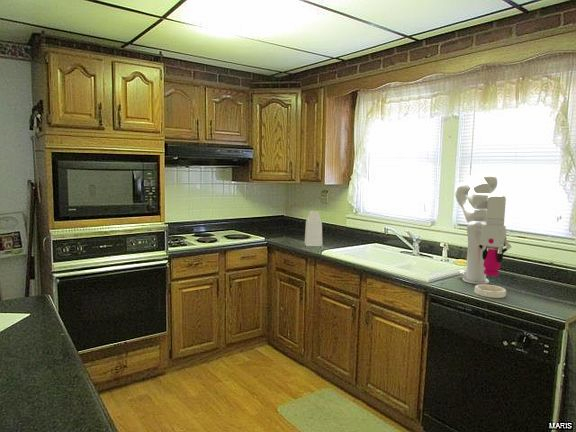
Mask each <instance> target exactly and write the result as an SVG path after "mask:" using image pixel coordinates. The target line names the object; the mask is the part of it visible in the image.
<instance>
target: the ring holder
mask: <svg viewBox="0 0 576 432" xmlns="http://www.w3.org/2000/svg"><path fill="white" fill-rule="evenodd" d="M473 291H474V294H476V295H478V296H480V297H485V298H492V299H502V298H503V299H504V298H505V297H506V296H507V295H506V294H507V289H506V288H505V287H502V286H499V285H494V284H475V285H474V289H473Z"/></svg>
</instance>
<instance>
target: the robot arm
mask: <svg viewBox="0 0 576 432" xmlns="http://www.w3.org/2000/svg"><path fill="white" fill-rule="evenodd" d="M497 186H498V179H497V177H496V176H495V174H492V173H473V174H470V175H469V176H468V177H467V179H466V181H464V182H460V183H458V184H456V186H455V188H454V195H455V199H456V201H457V203H458V205H459V207H460V208H461V209H462V211H463V214H464V217H465V220H466V223H467V225H466V233H467V251H466V252H467V254H466V266H465V267H466V269H465V271H464V270H461V269H460V270H459V271H458V274H459V275H461V276H463V277H462V281H463V282H465V283H468V284H475V285H479V284H487V285H489V284H490V279H488V278H487V275H486V274H484V270H485V267H484V266H483V263H484V260H485V258H486V256H487V254H488V248H487V246H490V247H496V248H498V260H497V262H500V263H502V261H504V254H505V253H506V252H507V251H508V250H510V249H511V248H512V245H511V244H510V243H509V242H508V239H507V227H506V225H505V217H506V216H505V215H506V202H507V198H506V196H504V195H501V194H499V193H493V192H494V191H495V190H496V188H497ZM489 239H493V243H492V244H491V243H489V242H488V240H489ZM504 247H505V248H504Z"/></svg>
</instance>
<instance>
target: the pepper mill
mask: <svg viewBox="0 0 576 432" xmlns="http://www.w3.org/2000/svg"><path fill="white" fill-rule="evenodd" d="M488 242H489V243H491V244H492V243H493V239H489V240H488ZM487 248H488V254H487V256H486V258H485V260H484V263H483V266H484V267H485V270H484V274H486V276H491V277H498V276H499V274H500V271H499V269H500V268H501V262H497V260H498V254H499V250H498V248H496V247H490V246H487Z"/></svg>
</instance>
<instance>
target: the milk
mask: <svg viewBox="0 0 576 432" xmlns="http://www.w3.org/2000/svg"><path fill="white" fill-rule="evenodd" d="M304 231H305V232H304V243H305V245H306V246H322V247H323V222H322V219H321V215H320V213H319V211H318V210H316V211H315V210H309V212H308V215H307V217H306V220H305V230H304ZM305 245H304V246H305Z"/></svg>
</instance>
